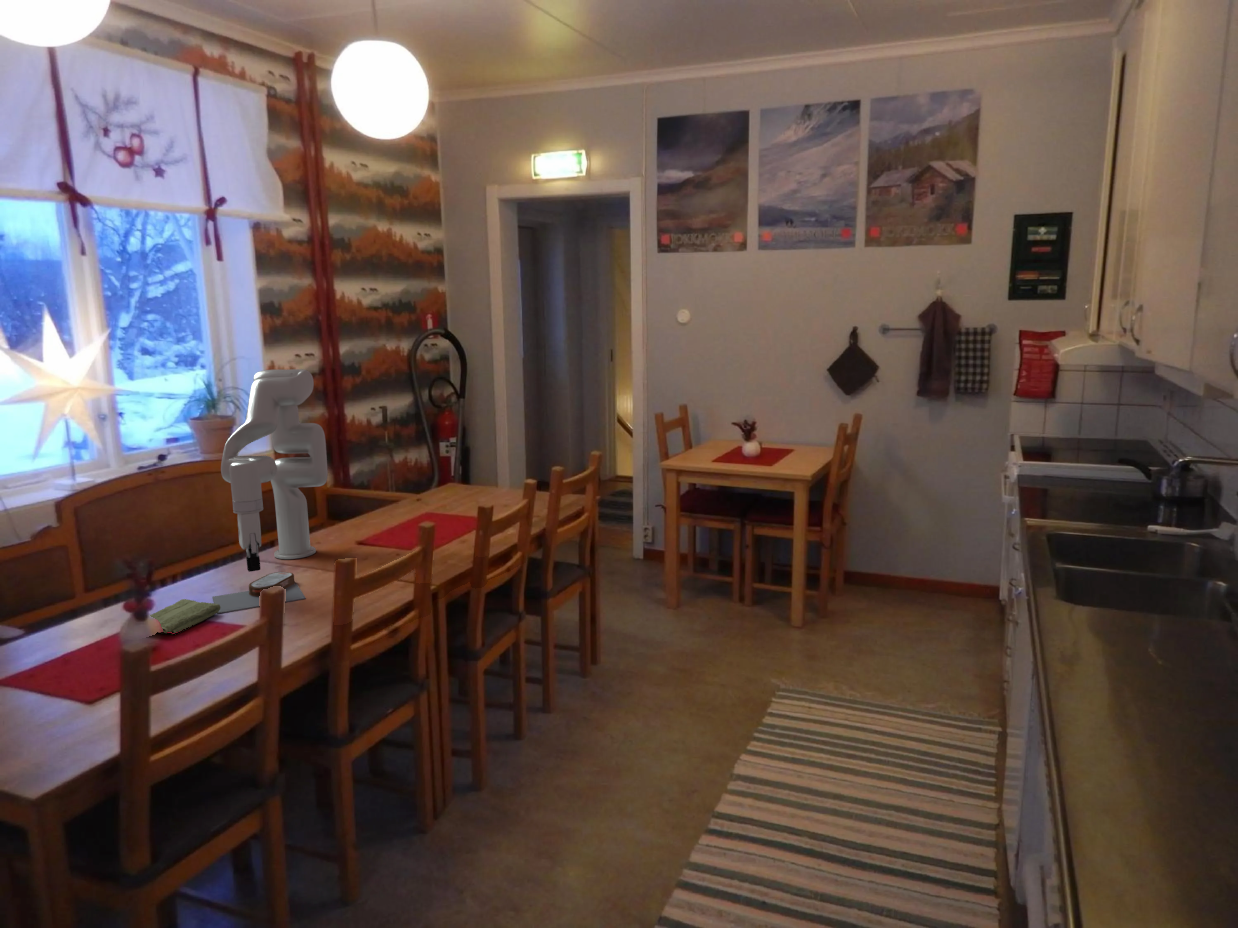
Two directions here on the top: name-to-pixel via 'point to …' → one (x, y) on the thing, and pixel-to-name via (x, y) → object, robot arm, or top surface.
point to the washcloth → (184, 614)
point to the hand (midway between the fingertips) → (254, 570)
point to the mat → (251, 599)
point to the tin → (271, 582)
